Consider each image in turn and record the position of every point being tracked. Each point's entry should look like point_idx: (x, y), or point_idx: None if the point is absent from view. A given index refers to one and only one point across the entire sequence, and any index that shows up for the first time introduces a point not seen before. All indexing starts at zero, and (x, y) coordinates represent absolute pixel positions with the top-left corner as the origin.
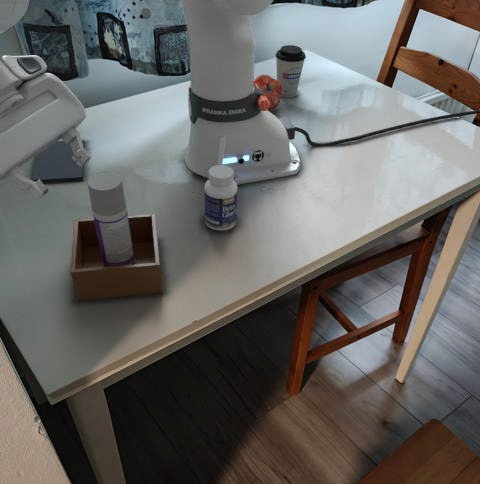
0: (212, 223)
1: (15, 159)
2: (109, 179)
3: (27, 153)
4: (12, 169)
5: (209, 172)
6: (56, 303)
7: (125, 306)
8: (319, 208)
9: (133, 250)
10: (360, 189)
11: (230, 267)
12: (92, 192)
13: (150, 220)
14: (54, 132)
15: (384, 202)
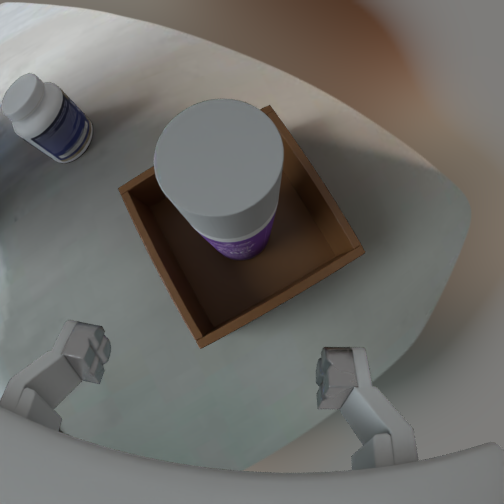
0: (86, 133)
1: (390, 481)
2: (199, 143)
3: (310, 482)
4: (407, 460)
5: (20, 106)
6: (363, 290)
7: (322, 178)
8: (36, 58)
9: (186, 231)
10: (7, 48)
11: (172, 79)
12: (280, 176)
13: (132, 195)
14: (79, 457)
15: (29, 22)
